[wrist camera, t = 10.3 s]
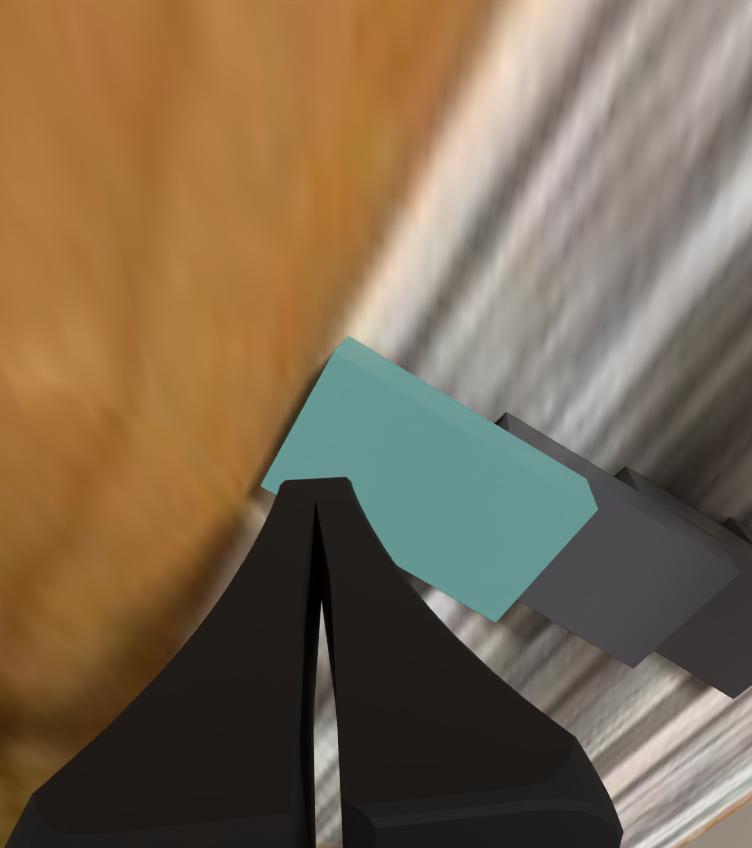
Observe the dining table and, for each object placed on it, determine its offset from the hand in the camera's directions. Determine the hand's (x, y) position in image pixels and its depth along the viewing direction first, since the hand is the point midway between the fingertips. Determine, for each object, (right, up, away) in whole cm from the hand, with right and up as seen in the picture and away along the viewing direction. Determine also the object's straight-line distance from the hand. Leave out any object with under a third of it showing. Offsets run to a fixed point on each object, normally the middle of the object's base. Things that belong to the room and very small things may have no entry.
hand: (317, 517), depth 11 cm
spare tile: (-1, +2, +3) cm, 4 cm away
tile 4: (+4, 0, +5) cm, 6 cm away
